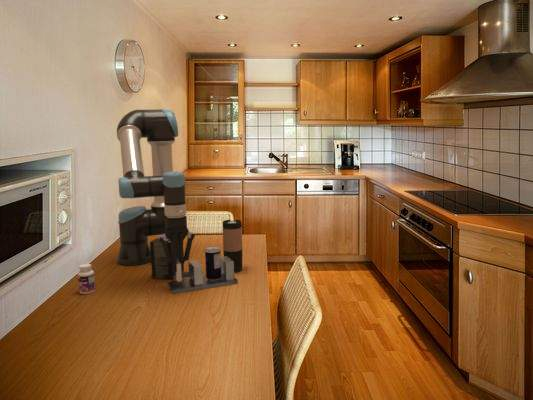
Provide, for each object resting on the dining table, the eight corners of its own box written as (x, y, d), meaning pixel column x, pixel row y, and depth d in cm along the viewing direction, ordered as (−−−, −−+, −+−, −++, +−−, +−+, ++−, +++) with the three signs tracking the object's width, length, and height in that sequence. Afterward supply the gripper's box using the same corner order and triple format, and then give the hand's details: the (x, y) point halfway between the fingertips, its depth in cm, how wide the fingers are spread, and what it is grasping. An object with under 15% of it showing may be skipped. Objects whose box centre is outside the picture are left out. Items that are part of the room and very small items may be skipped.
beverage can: (218, 275, 176) (217, 245, 175) (223, 280, 171) (222, 248, 169) (204, 277, 174) (203, 246, 172) (208, 282, 169) (207, 250, 167)
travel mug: (231, 274, 182) (230, 224, 179) (220, 270, 187) (218, 221, 184) (246, 270, 187) (245, 221, 184) (235, 266, 192) (233, 218, 189)
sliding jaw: (178, 280, 171) (177, 262, 170) (197, 278, 174) (196, 260, 173) (183, 287, 164) (182, 268, 163) (203, 284, 167) (202, 265, 166)
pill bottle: (75, 293, 164) (73, 266, 163) (86, 288, 169) (84, 262, 167) (88, 295, 162) (85, 268, 161) (98, 290, 167) (96, 263, 166)
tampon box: (174, 279, 177) (172, 242, 174) (151, 278, 179) (149, 241, 176) (184, 270, 187) (182, 235, 185) (163, 269, 189) (161, 234, 187)
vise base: (167, 285, 171) (165, 263, 170) (228, 275, 180) (228, 255, 179) (172, 293, 162) (171, 271, 160) (237, 283, 171) (237, 261, 170)
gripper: (158, 219, 158) (162, 286, 161) (196, 216, 162) (199, 280, 166) (155, 215, 164) (158, 279, 168) (191, 212, 169) (194, 274, 173)
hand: (178, 280), depth 167 cm, fingers closed
